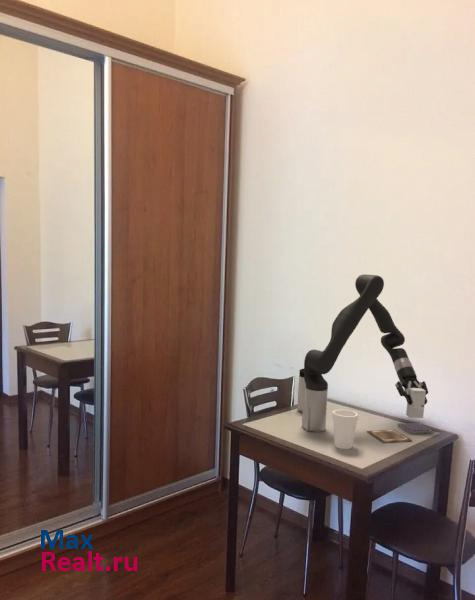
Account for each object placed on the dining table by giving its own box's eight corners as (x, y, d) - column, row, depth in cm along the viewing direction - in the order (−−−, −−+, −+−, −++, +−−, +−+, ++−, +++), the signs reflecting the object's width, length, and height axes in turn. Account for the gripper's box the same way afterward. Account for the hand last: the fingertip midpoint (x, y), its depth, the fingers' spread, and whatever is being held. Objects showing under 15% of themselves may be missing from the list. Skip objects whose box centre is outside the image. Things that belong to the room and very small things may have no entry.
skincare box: (410, 418, 217) (412, 390, 215) (405, 415, 221) (407, 387, 220) (423, 418, 217) (426, 390, 216) (418, 415, 222) (421, 387, 221)
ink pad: (411, 434, 213) (411, 431, 213) (398, 426, 223) (398, 423, 223) (432, 433, 216) (432, 430, 216) (418, 425, 226) (418, 422, 226)
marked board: (383, 443, 202) (383, 441, 202) (366, 432, 214) (367, 430, 214) (412, 441, 205) (412, 439, 205) (394, 430, 218) (394, 429, 218)
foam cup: (355, 443, 200) (357, 411, 199) (355, 451, 191) (357, 418, 190) (331, 440, 202) (333, 408, 201) (330, 448, 193) (332, 415, 192)
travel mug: (312, 410, 242) (314, 368, 241) (308, 413, 236) (310, 371, 235) (300, 408, 245) (302, 367, 243) (295, 411, 239) (297, 369, 237)
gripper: (394, 365, 223) (407, 399, 212) (423, 365, 227) (437, 399, 216) (386, 374, 228) (399, 408, 218) (414, 374, 232) (428, 407, 222)
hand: (418, 403), depth 217 cm, fingers closed on skincare box, 6 cm apart
